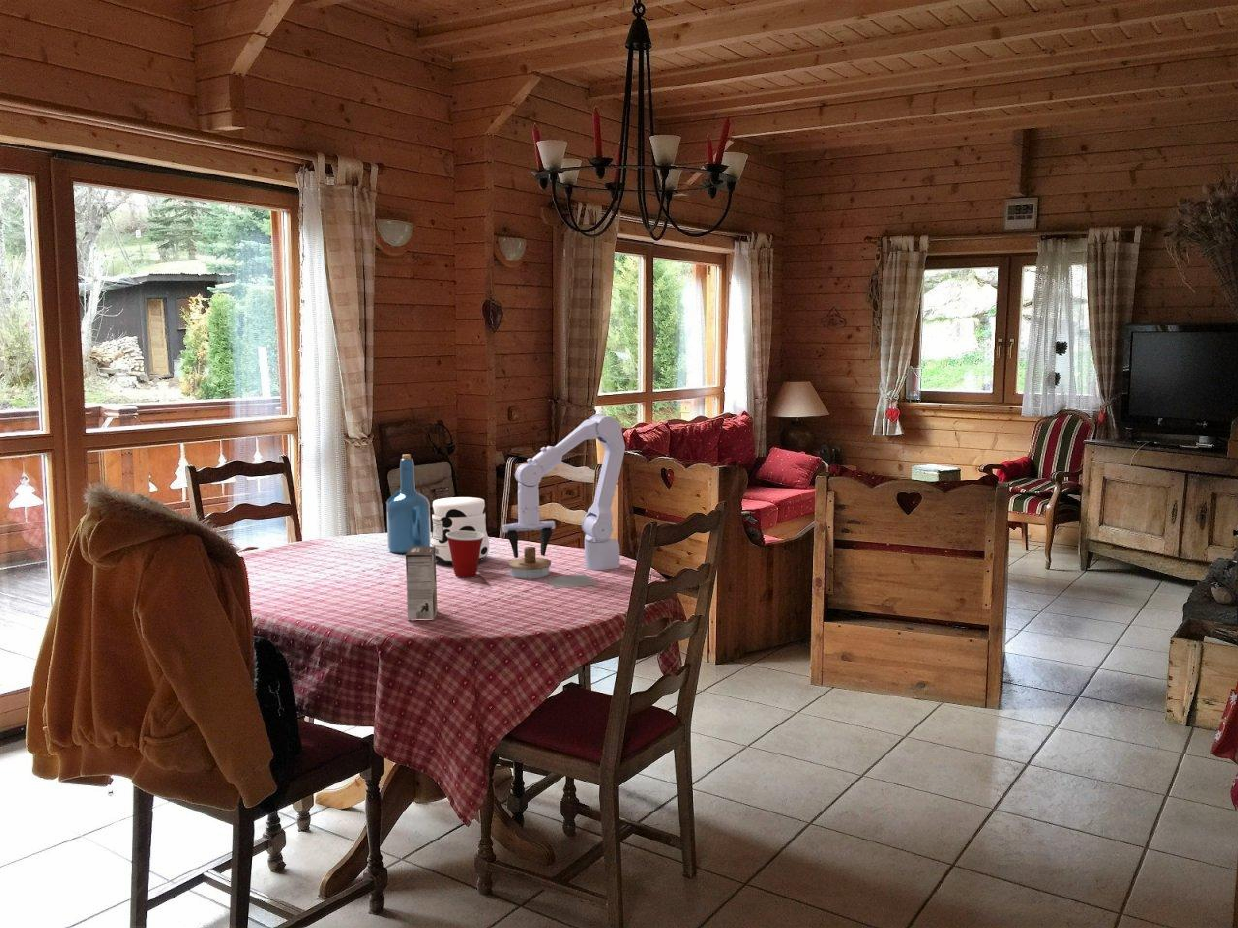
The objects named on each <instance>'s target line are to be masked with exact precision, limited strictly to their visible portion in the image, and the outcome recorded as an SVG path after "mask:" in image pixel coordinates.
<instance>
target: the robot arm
mask: <svg viewBox="0 0 1238 928" xmlns="http://www.w3.org/2000/svg"><path fill="white" fill-rule="evenodd" d="M622 429H623V427H622V425H621V424H620V423H619V422H618V420H617V419H616V418H615V417H613V416H610V415H603V414H599V413H596V414H593V415H591V416H590V417H589V419H585V420H583V422H582V423H580V424H579V426H577V427H576V428H574V430H573V431H571V432H570V433H568V435H567V436H565V437H564V438H563V439H562V440H561V441H559V442H558V443H557V444H556V445H554V446H551V445H547V446H546V447H545V446H543V447H541V448H540V449H539V450H540V452H538V453H537V454H536V455H534V456H533V457H532V458H528V459H527V460H526V462H527V463H522V464H519V465H518V466H517V468H516V471H515V473H514V478H515V480H516V481H517V482H518V483H517V508H518V509H517V514H518V516H517V517H518V519H517V520H518V522H513V523H506V524H502V526H501V528H502V532H503V533H505V534H506V535H505V536H507V539H508V541H509V544H510V546H511V548H512V553H513V557H514V559H519V548H518V544H519V534H518V532H524V531H537V530H539V537H540V548H539V549H540V555H541V556H542V557H545V556H546V552H547V546H548V544H549V541H550V539H551V537H552V535H553V532H554V531H553V530H556V521H554V520H548V521H547V520H545V521H544V520H540V495H539V494H540V492H539V484H540V483H541V481H542V478H543V477H544V476H545V475H547V474H548V473H549V472H551V471H552V470H553V469H554V468H556V467H557V466H558V465H560V464H561V463H562V459H563V456H564V455H566V454H567V453H568V452H570V451H571V450H572V449H574V448H576V447H577V446H579V445H580V444H582V442H584V441H586V440H598V442H599V443H600V444H601V445H602V447H603V449H604V450H605V451H604V455H603V459H602V464H601V467H600V468H601V469H600V472H599V477H598V480H597V481H598V482H597V485H596V489H595V494H594V497H593V501H592V502H593V503H592V505H590V507H589V508H588V510H587V513H586V515H585V517H584V518H583V519H582V522H581V529H582V531H583V532H584V533H585V537H584V568H585V569H586V570H590V571H605V570H611V569H620V544H619V541H618V539H617V538H611V537H612V535H613V534H614V533H613V532H614V525H613V519H614V515H613V512H612V505H613V502H614V497H615V493H616V489H617V485H618V484H617V483H618V480H619V476H620V473H621V472H620V471H621V467H622V462H623V459H624V455H625V450H626V444H625V441H624V437H623V432H622Z"/></svg>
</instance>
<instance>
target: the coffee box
mask: <svg viewBox="0 0 1238 928" xmlns="http://www.w3.org/2000/svg"><path fill="white" fill-rule="evenodd" d="M405 565H406V568H405V569H406V570H405V571H406V595H407V596H406V598H407V599H406V600H407V620H408V619H409V620H410V619H434V620H435V619H436V616H437V613H438V611H439V610H438V587H437V560H436V552H435V547H425V546H415V547H409V549H408V552H407V554H405Z"/></svg>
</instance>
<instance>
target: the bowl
mask: <svg viewBox="0 0 1238 928" xmlns="http://www.w3.org/2000/svg"><path fill="white" fill-rule="evenodd" d="M509 569H510V570H509V571H510V575H511V576H512V577H513V578H517V579H518V578H520V579H535V578H537V579H538V578H544V577H546V576H547V575H550V567H547V568H543V569H537V570H519V569H513V568H511V567H509Z"/></svg>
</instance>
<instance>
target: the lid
mask: <svg viewBox="0 0 1238 928" xmlns="http://www.w3.org/2000/svg"><path fill="white" fill-rule="evenodd" d="M523 549H524V551H523V552H524V557H520V558H514V559H512V560H510V561H509V562H508V566H509V568H510V567H511V568H513V569H519V570H537V569H543V568H547V567H549V568H550V567H551V566H552V561H551V560H550V559H548V558H543V557H536V547H535V546H526V547H524V548H523Z"/></svg>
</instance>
